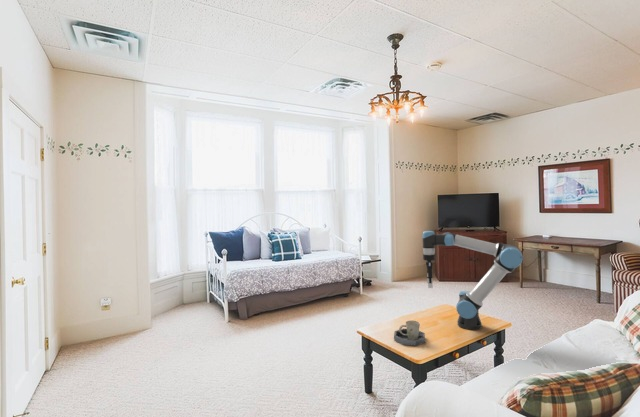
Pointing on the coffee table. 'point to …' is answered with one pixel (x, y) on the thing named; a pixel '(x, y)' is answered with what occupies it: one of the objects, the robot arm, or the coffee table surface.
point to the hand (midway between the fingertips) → (429, 285)
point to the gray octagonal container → (405, 341)
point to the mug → (411, 329)
